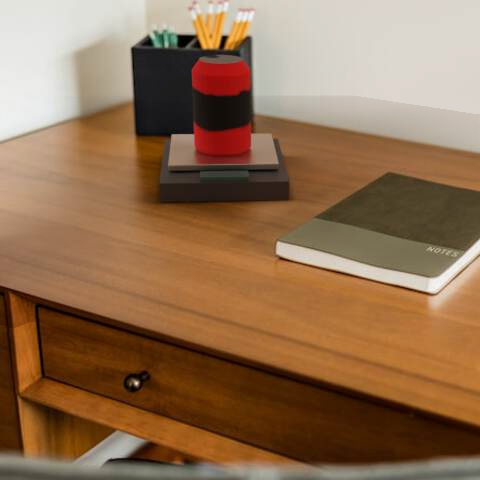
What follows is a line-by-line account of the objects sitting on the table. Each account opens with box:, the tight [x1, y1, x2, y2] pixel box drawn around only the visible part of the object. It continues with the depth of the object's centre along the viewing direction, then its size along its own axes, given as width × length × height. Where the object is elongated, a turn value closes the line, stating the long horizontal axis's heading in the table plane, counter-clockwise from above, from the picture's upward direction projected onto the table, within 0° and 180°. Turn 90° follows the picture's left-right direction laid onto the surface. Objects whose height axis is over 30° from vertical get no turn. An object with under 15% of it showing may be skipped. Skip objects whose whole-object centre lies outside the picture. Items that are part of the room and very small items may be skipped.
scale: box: [158, 138, 290, 203], centre depth 121 cm, size 16×19×3 cm
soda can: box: [191, 54, 252, 156], centre depth 119 cm, size 8×8×12 cm
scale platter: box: [168, 133, 279, 171], centre depth 121 cm, size 14×14×1 cm
